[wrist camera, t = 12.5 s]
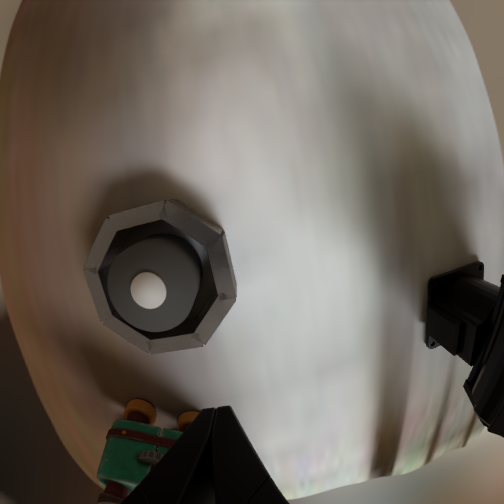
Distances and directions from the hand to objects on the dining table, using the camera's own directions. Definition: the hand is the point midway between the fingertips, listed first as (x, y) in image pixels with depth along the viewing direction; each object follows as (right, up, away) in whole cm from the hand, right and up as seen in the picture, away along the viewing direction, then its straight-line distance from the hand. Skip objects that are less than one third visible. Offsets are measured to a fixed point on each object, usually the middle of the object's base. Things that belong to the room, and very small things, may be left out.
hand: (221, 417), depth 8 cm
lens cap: (-5, +4, +11) cm, 13 cm away
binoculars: (-7, -12, +15) cm, 20 cm away
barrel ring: (-5, +3, +11) cm, 13 cm away
